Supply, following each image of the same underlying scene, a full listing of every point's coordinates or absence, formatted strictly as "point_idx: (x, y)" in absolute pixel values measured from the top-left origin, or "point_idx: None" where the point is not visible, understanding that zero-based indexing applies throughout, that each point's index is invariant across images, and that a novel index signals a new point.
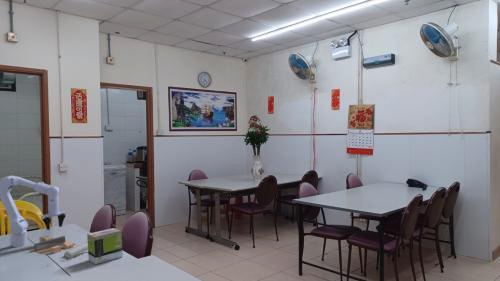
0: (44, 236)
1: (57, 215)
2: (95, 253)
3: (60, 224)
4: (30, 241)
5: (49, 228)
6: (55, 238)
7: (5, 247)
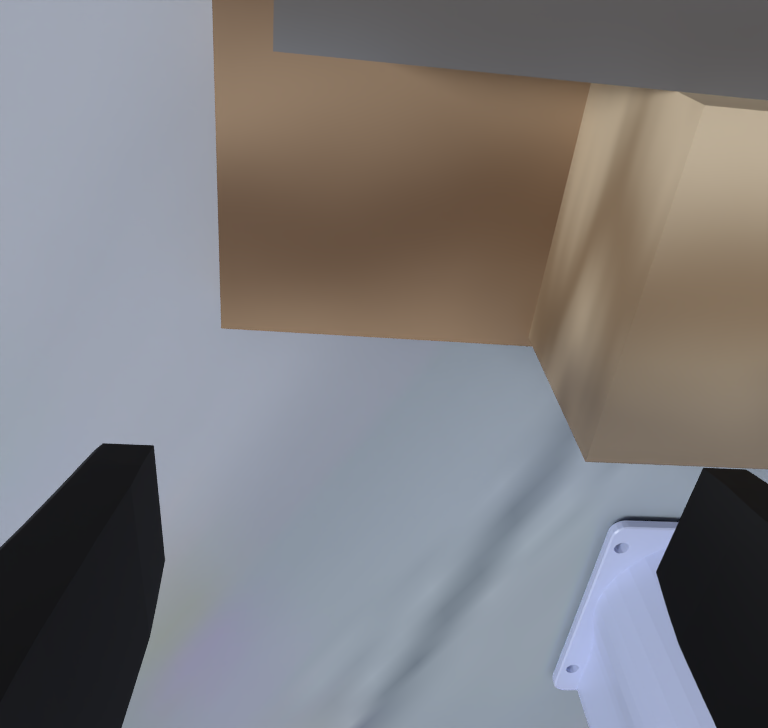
0: (670, 427)
1: None
2: None
3: (120, 564)
4: (408, 703)
5: (761, 499)
6: (624, 24)
7: None
